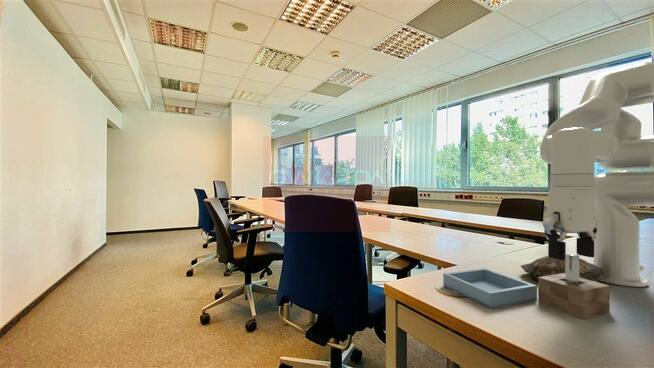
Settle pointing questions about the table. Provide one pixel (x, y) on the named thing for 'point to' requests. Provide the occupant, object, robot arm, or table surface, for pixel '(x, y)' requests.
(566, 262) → the steel pin
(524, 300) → the tray
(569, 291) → the pin holder
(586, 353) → the table surface
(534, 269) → the crinkled plastic bag
